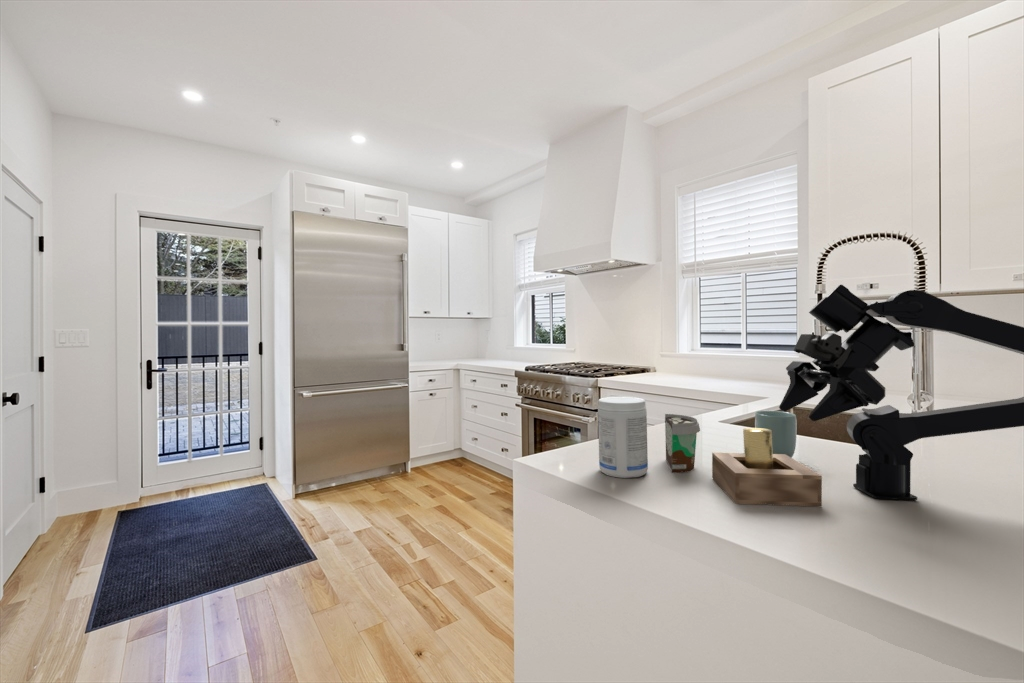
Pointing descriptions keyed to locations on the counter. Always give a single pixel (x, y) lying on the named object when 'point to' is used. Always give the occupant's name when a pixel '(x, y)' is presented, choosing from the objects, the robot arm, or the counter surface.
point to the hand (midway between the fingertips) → (795, 414)
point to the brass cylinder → (758, 448)
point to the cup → (779, 430)
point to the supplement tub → (622, 436)
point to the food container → (680, 442)
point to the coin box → (767, 481)
